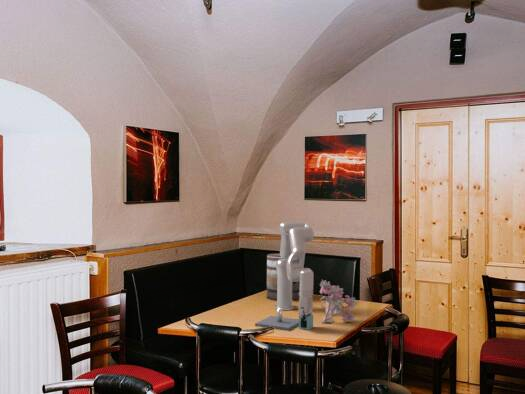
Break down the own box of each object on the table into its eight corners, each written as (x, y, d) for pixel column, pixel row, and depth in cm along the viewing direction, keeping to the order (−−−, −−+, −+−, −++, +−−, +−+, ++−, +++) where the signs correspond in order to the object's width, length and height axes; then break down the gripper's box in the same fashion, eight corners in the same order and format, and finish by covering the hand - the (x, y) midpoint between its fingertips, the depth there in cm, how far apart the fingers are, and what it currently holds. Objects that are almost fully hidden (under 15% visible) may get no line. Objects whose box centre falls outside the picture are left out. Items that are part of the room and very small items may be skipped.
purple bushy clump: (340, 312, 316) (340, 293, 316) (339, 315, 307) (340, 296, 307) (321, 311, 319) (321, 292, 318) (319, 314, 310) (320, 295, 310)
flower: (344, 327, 272) (357, 283, 280) (307, 317, 284) (320, 275, 292) (355, 336, 288) (367, 294, 296) (319, 326, 300) (331, 286, 308)
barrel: (300, 301, 347) (300, 257, 347) (267, 301, 347) (267, 257, 347) (297, 294, 370) (297, 253, 369) (266, 294, 369) (266, 253, 369)
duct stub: (278, 320, 286) (278, 308, 286) (282, 321, 285) (282, 308, 285) (275, 321, 284) (276, 309, 284) (280, 322, 282) (280, 309, 282)
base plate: (271, 318, 298) (271, 315, 298) (302, 322, 289) (302, 319, 289) (255, 326, 280) (255, 323, 280) (288, 330, 271) (288, 327, 271)
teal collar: (302, 325, 281) (303, 313, 281) (313, 327, 279) (313, 314, 278) (298, 328, 276) (298, 315, 276) (309, 329, 273) (309, 316, 273)
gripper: (305, 289, 286) (305, 321, 287) (293, 295, 271) (293, 329, 271) (318, 291, 283) (318, 323, 283) (306, 296, 268) (306, 330, 268)
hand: (305, 325), depth 277 cm, fingers closed on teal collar, 5 cm apart
